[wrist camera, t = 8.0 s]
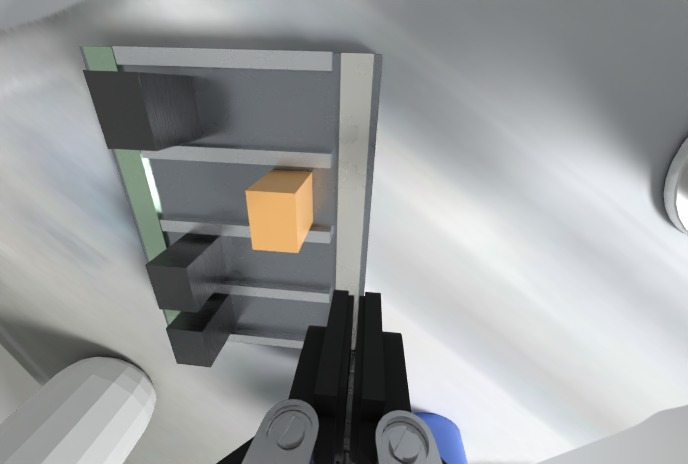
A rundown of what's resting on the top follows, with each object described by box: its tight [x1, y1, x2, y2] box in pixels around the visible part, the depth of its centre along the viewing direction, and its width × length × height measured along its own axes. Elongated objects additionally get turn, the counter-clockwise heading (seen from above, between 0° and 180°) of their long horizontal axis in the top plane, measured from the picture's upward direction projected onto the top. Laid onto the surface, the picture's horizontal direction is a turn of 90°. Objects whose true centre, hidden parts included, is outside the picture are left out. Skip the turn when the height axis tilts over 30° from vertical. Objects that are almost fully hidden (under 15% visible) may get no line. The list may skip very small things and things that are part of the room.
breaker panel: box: [80, 46, 382, 367], centre depth 23 cm, size 20×25×7 cm
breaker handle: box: [245, 170, 313, 253], centre depth 20 cm, size 3×4×5 cm
